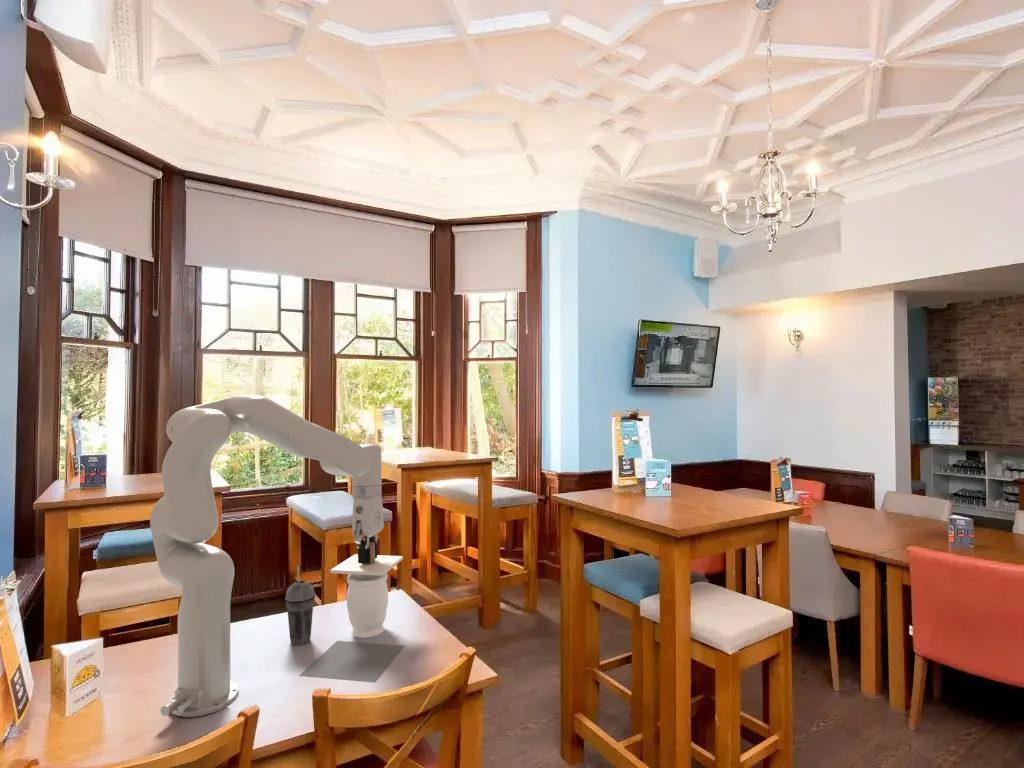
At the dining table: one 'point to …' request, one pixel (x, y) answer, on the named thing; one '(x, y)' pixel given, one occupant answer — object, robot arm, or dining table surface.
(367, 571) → the lid
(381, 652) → the mat
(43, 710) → the dining table surface
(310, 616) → the beverage cup
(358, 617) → the jar
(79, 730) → the dining table surface
